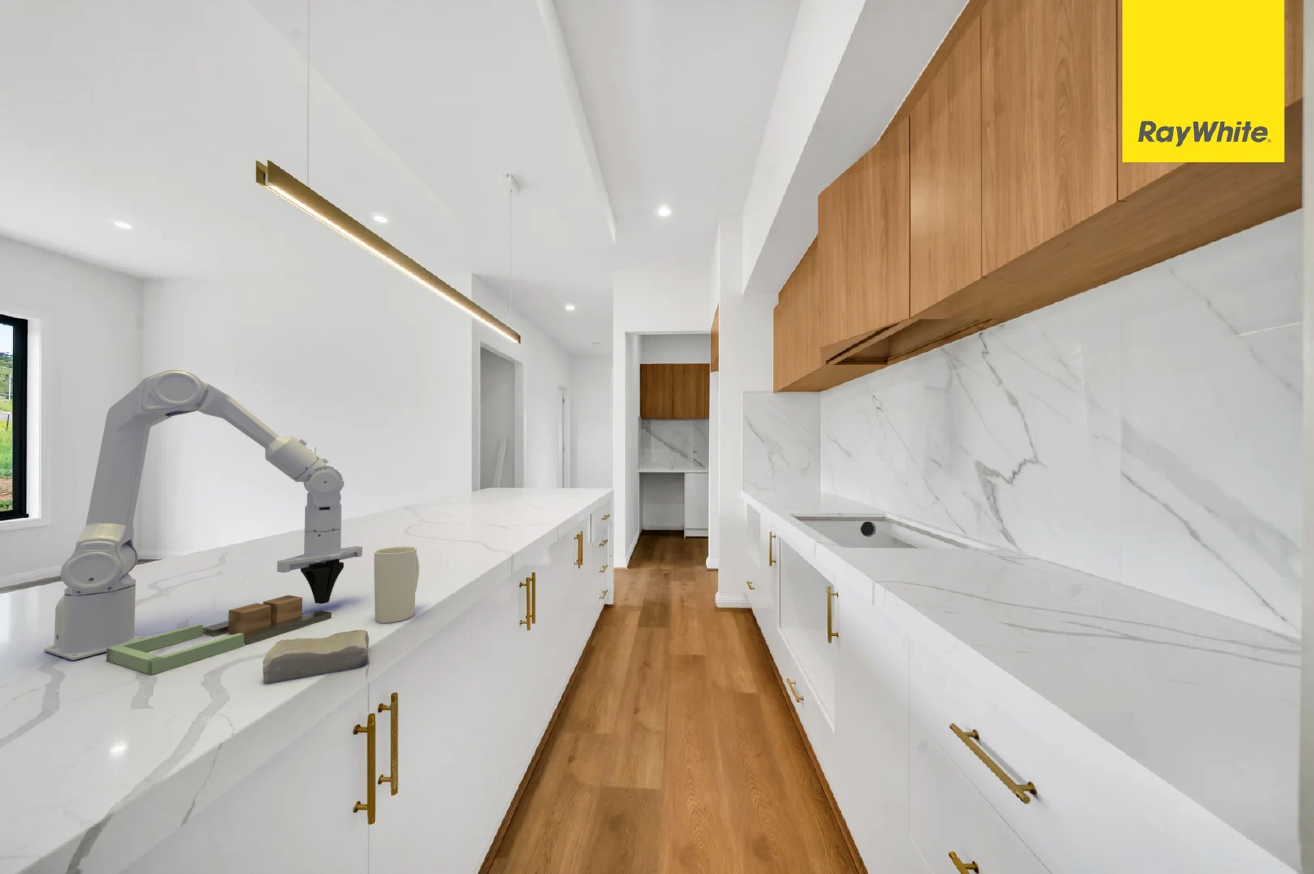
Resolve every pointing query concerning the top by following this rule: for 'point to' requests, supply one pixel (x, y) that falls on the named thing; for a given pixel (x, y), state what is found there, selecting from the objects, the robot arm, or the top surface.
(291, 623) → the slot rails
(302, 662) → the stone block
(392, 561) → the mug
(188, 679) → the top surface
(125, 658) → the tray
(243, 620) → the walnut chip front
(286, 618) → the block
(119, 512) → the robot arm
